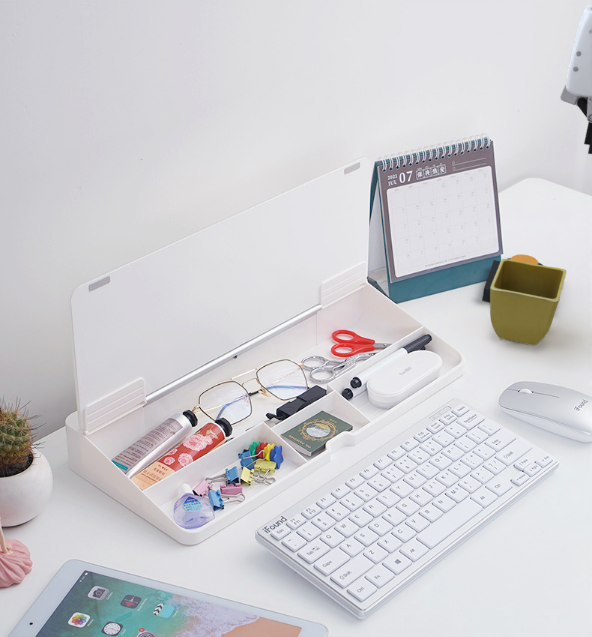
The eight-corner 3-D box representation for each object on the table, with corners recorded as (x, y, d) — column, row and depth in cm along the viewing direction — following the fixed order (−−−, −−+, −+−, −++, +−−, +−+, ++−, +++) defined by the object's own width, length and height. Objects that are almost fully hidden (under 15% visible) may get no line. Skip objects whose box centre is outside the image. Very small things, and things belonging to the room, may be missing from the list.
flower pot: (480, 343, 109) (489, 287, 104) (493, 310, 116) (502, 256, 111) (546, 358, 106) (558, 301, 101) (555, 323, 113) (567, 269, 108)
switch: (554, 283, 122) (558, 260, 120) (547, 313, 115) (552, 289, 113) (491, 271, 125) (495, 249, 123) (481, 300, 118) (485, 277, 116)
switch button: (537, 267, 119) (539, 256, 118) (534, 280, 116) (536, 269, 115) (510, 262, 120) (512, 252, 119) (506, 275, 117) (508, 264, 116)
